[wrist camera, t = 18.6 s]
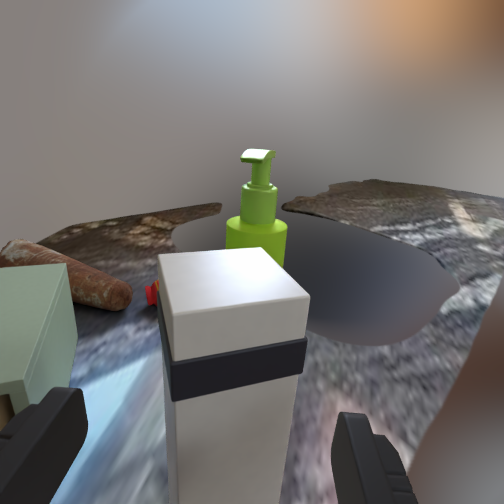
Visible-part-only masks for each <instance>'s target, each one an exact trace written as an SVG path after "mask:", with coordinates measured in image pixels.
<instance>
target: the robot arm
mask: <svg viewBox="0 0 504 504" xmlns="http://www.w3.org/2000/svg"><path fill="white" fill-rule="evenodd" d="M87 431H88V420H87V414H86V408H85V402H84V396H83V392H82V390H81V389H79V388H68V387H53V388H52V389H51V390H50V391H49V392H48V393H47V394H46V395H45V397H44V398H43V399H42V400H41V402H40V403H39V404H30V405H29V406H28V407H26V408H25V409H23V410H22V411H21V412H19V413H18V414H16V415H15V416H14V417H12V418H11V420H10V421H9V422H8V423H7V424H6V425H5V426H4V428H3V429H2V430H1V431H0V504H49V503H50V502H51V500H52V498H53V496H54V495H55V493H56V491H57V489H58V488H59V486H60V484H61V482H62V481H63V479H64V477H65V475H66V474H67V472H68V470H69V468H70V467H71V465H72V463H73V461H74V460H75V458H76V456H77V455H78V453H79V451H80V449H81V448H82V446H83V444H84V441H85V439H86V435H87ZM331 465H332V472H333V477H334V483H335V488H336V493H337V499H338V504H418V502H417V499H416V497H415V494H414V493H413V491H412V486H411V484H410V481H409V479H408V476H406V471H405V469H404V466H403V464H402V461H401V459H400V456H399V453H398V452H397V450H396V449H395V448H394V447H393V445H392V444H391V443H390V442H389V440H388V439H387V438H386V437H385V435H376V434H373V432H372V429H371V426H370V423H369V420H368V418H367V416H366V415H365V414H360V413H348V412H340V413H339V415H338V419H337V424H336V428H335V433H334V437H333V442H332V447H331Z"/></svg>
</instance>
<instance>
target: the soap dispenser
mask: <svg viewBox="0 0 504 504" xmlns="http://www.w3.org/2000/svg"><path fill="white" fill-rule="evenodd" d="M275 153H276V152H275V151H271V150H260V149H248V150H246V151H245V152H244V153H243V154H242V156H241V157H240V159H241V162H246V163H252V176H251V182H248V183H247V184H245V185H243V186H242V191H241V210H240V216H238V217H233V218H231V219H229V220H228V221H227V230H226V250H229V249H243V248H257V247H261V248H262V249H263V250H264V251H265V252H266V253H267V254H268V255H269V256H270V257H271V258H272V259H274V260H275V261H276V262H277V263H278V264H279V265H280V266H281V267H282V268H283V261H284V252H285V242H286V235H287V225H286V224H285V223H284V222H282V221H280V220H278V219H275V214H276V204H277V193H278V189H277V188H276V187H274V186H273V185H272V184H271V183H269V181H270V169H271V158H275Z"/></svg>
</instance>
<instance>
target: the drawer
mask: <svg viewBox="0 0 504 504" xmlns="http://www.w3.org/2000/svg"><path fill="white" fill-rule="evenodd" d="M14 416H15V413H14V409H13V406H12V402H11V399H10V395H9V394H4V395H0V431H1V430H2V429H3V428H4V426H5V425H6V424H7V423H8V422H9V421H10V420H11V418H12V417H14Z"/></svg>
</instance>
